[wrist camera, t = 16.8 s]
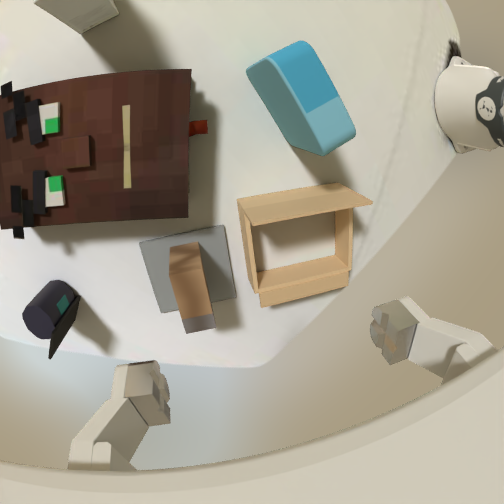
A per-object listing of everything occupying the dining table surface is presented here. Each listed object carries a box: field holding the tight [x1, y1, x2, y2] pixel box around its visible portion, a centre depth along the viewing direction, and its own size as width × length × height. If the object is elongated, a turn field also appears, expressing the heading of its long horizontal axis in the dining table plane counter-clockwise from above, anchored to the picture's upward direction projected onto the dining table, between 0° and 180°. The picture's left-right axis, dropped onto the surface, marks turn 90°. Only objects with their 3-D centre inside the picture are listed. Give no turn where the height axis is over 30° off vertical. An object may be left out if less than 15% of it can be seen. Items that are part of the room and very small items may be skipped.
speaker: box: [22, 280, 81, 359], centre depth 38 cm, size 8×6×10 cm
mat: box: [139, 225, 236, 313], centre depth 45 cm, size 12×12×1 cm
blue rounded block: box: [246, 41, 356, 156], centre depth 32 cm, size 12×4×12 cm, turn 32°
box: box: [169, 241, 216, 334], centre depth 41 cm, size 4×9×8 cm, turn 7°
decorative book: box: [0, 69, 208, 239], centre depth 31 cm, size 19×8×30 cm
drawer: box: [237, 183, 373, 308], centre depth 42 cm, size 15×15×10 cm
